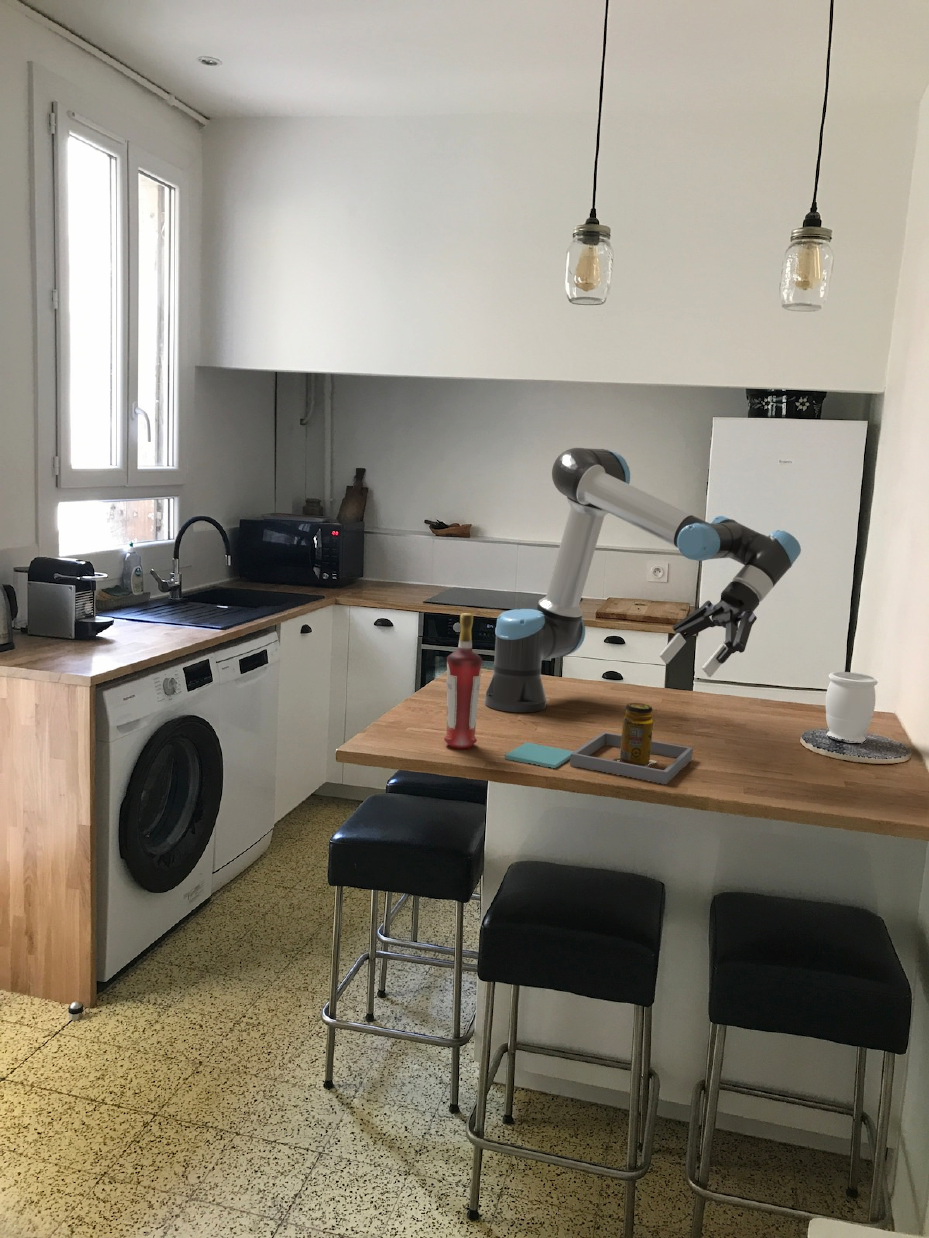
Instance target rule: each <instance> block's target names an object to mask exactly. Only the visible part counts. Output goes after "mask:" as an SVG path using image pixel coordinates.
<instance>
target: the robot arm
mask: <svg viewBox="0 0 929 1238" xmlns="http://www.w3.org/2000/svg"><path fill="white" fill-rule="evenodd" d="M551 478H552V481H553V485H554V486H555V489H557V491H558V492H559V493H560V494H562V495H563V496H565V497H566V500H567V501H568V504H569V507H570V508H569V512H568V516H567V520H566V523H565V526H564V529H563V533H562V537H561V541H560V544H559V549H558V552H557V556H556V559H555V563H554V567H553V571H552V573H551V574H552V575H551V578H550V580H549V585H548V588H547V592H546V595H545V596H544V597H542V598H541V599H539V600H538V602H537V606H536V609H534V608H520V609H515V608H514V609H510V610H506V611H503V612H502V613H500V614H499V615H498V617H497V619H496V627H495V629H494V630H495V631H494V632H495V633H494V634H495V636H494V638H495V639H494V655H493V656H494V658H493V659H494V662H493V672H492V673H493V674H492V676H491V679H490V682H489V684H488V687H487V689H486V692H485V695H484V705H486V706H487V707H489V708H491V709H494V710H498V711H502V712H511V713H534V712H535V713H536V712H539V711H543V710H544V709H546V707H547V706H546V705H547V696H546V693H545V688H544V684H543V682H542V681H543V680H542V677H541V676H542V675H541V674H542V661H544V660H550V659H555V658H557V659H558V658H563V657H564V658H565V657H566V656H568V655H572V654H574V653H575V652H576V651H578V649H580V648H581V646H582V645H583V643H584V641H585V638H586V625H584V623H585V622H584V620H583V615H584V613H583V609H582V608H581V606H580V603H581V599H582V596H583V592H584V590H585V586H586V582H587V578H588V576H589V571H590V568H591V565H592V561H593V558H594V554H595V551H596V546H597V543H598V540H599V536H600V533H601V529H602V527H603V523H604V518H605V516H606V515H608V514H611V515H612V516H615V517H616V518H619V519H620V520H622V521H625V522H626V523H629V524H630V525H632V526H634V527H636V528H638V529H639V530H642V531H645V532H646V533H648V534H650V535H651V536H654V537H656V538H657V539H660V540H661V541H663V542H665V543H668V544H669V545H672V546H673V547H675V548H677V549H678V550H679V553H681V555H682V556H683V557H685V559H688V560H693V561H697V562H699V561H700V562H701V561H702V562H703V561H707V560H708V561H709V560H716V559H731V560H733V561H735V562H738V564H739V563H740V564H742V565H743V566H742V568H741V569H740V570H739V571H738V572H737V573H736V575H735V576H734V577H733V578H732V581H730V582H729V583H728V585H727V586H726V587H725V588H724V589H723V590H722V592H721V593H720V599H719V602H717V603H716V604H715V603H712V602H711V600H706V601H705V602H704V603H702V605H701V606H700V607H699V608H698V609H696V610H695V611H693V612H692V613H690V614H688V615H687V616H685V617H684V618H683V619H681V620H680V621H679V622H676V623H675V624H674V625H673V626H671V627H672V628H671V629H672V630H673V631H674V632H675V634H674V635H673V636H672V637H671V638H670V640H669V641H668V642H667V645H666V646H665V647H664V648H663V649H662V651H661V652H660V653H659V654H658V656H659V657H660V659H661V660H662V661H663V662H664V663H665V664H666V665H668V664H669V663H670V662H671V660H672V659H673V658H674V657H675V656H676V655H677V653H679V651H680V650H681V649H682V647H683V646H685V644H686V643H687V641H686V640H687V639H688V638H691V637H693V636H695V635H697V634H699V633H700V632H702V631H705V630H706V629H708V628H715V627H722V628H724V629H725V637H724V638H725V639H724V640H725V641H723V644H722V643H721V644H720V645H719V646H718V647H717V649H716V650H715V651H714V652H713V654H711V655H710V657H709V658H708V659H707V660H706V661H705V663H704V664H703V665H702V666H701V669H702V670H703V672H704V673H705V674H706V676H707V677H709V678H711V677H712V676H713V675H714V674H715V673H716V671H717V670H718V669H719V668H720V667H721V666H722V665H723V664H724V663H726V661H727V660H728V659H729V657H730V656H731V655H732V654H735V653H736V652H739V653H740V654H741V653H743V652H745V649H746V647H747V644H748V640H749V637H750V634H751V631H752V627H753V625H754V623H755V622H756V621H757V619H758V617H757V616H756V614H755V613H754V612H755V610H756V609H757V607H759V605H760V603H761V602H762V601H763V600H764V599H765V598H766V597H767V595H769V593H770V592H771V590H772V589H773V588H775V586H776V584H777V583H779V581H780V580H781V578H783V577H784V575H785V574H786V573H787V571H789V570H790V569H791V568H792V567H793V564H794V563H795V562H796V561H797V559H798V557H799V556H800V555H801V552H802V549H801V545H800V543H799V540H797V538H796V537H795V536H793V534H791V533H790V532H787V531H785V530H779V529H776V530H774V531H772V532H771V534H769V535H768V536H767V535H765V534H762V533H760V532H758V531H756V530H754V529H751V528H749V527H748V526H745V525H743V524H742V523H739V522H737V521H736V520H735V519H732V518H728V517H726V516H723V515H718V516H715V518H713V519H712V520H710V522H708V521H705V520H703V519H701V518H699V517H696V516H695V515H693V514H691V513H689V512H687V511H685V510H683V509H681V508H679V507H676V505H672V504H670V503H668V502H666V501H664V500H662V499H660V498H659V497H655V496H654V495H652V494H649V493H647V492H646V491H645V490H641V489H639V488H637V487H636V486H633V485H631V484H630V481H631V470H630V466H629V465H628V463H627V460H626V459H625V458H624V457H623V456H622V455H621V454H620V453H618V452H616V451H613V450H609V449H605V448H584V447H572V448H569V449H566V450H565V451H562V452H561V454H560V455H558V457H557V458H556V459H555V461H554V462H553V465H552V469H551Z"/></svg>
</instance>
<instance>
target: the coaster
mask: <svg viewBox="0 0 929 1238" xmlns="http://www.w3.org/2000/svg"><path fill="white" fill-rule="evenodd" d="M574 751H575V750H574ZM574 751H573V750H569V749H563V748H558V747H555V746H553V747H552V746H547V745H543V744H542V745H541V744H538V743H537V744H536V743H534V742H533V743H532V742H524V743H523V744H522V745H519V746H517V747H516V748H514V749H513V750H511V751H509V752H507V753H506V754H504V759H505V760H509V761H513V760H514V762H519V763H524V764H528V763H531V764H530V765H533V764H536V765H535V766H538V765H540V766H539V767H543V768H548V767H551V768H550V769H553V768H556V767H557V768H559V767H560V766H561V764H562V765H563V764H564V763H566V762H567V761H570V757H571V753H573V752H574ZM557 768H556V769H557Z"/></svg>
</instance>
